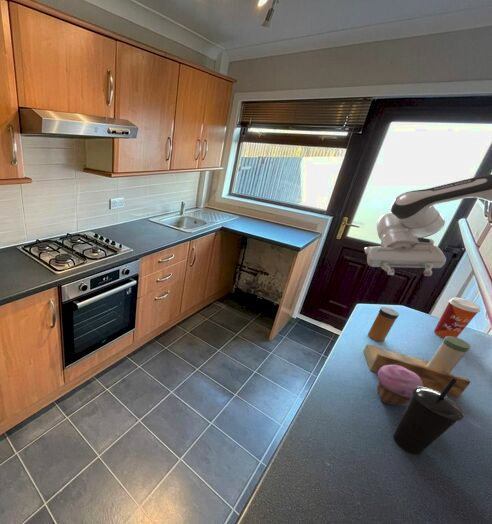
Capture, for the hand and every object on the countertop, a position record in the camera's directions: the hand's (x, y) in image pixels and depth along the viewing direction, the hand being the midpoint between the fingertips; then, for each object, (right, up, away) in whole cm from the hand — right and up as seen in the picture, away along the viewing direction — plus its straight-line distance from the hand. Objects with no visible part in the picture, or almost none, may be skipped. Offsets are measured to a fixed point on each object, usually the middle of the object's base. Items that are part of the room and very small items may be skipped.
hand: (409, 274), depth 93 cm
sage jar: (-5, -27, -13) cm, 31 cm away
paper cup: (+20, -23, +8) cm, 31 cm away
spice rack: (-11, -29, -10) cm, 33 cm away
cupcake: (-24, -32, -19) cm, 45 cm away
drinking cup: (-30, -37, -30) cm, 56 cm away
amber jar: (-8, -22, +4) cm, 24 cm away
